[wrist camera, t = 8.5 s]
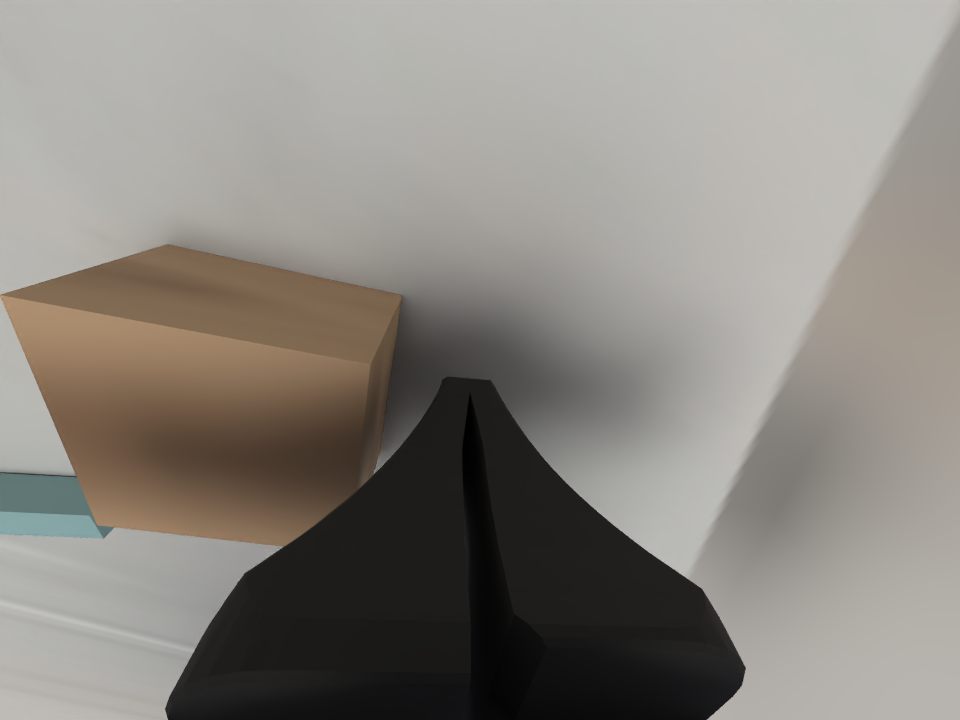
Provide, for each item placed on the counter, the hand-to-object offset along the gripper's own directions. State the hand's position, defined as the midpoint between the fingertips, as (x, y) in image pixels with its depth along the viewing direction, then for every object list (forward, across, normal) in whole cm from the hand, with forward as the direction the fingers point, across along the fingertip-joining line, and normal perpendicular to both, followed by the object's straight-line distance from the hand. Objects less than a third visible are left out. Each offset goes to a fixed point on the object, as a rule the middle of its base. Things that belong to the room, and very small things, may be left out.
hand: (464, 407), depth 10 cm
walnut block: (+2, +5, 0) cm, 6 cm away
